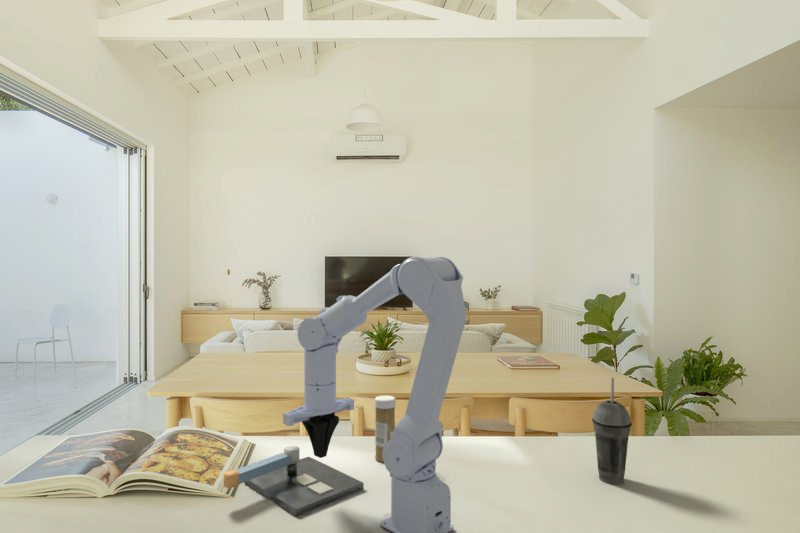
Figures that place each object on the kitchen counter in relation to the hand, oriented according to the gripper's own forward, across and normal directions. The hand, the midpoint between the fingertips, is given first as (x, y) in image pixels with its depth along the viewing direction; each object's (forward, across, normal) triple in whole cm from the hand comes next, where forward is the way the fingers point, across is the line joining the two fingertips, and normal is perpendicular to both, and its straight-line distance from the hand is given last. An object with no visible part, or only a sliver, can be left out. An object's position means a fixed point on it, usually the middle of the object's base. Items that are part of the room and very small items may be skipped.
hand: (320, 455), depth 95 cm
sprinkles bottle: (+8, -20, -4) cm, 22 cm away
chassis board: (+7, 0, -6) cm, 9 cm away
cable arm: (+4, +7, -9) cm, 12 cm away
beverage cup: (+8, -46, +34) cm, 58 cm away
